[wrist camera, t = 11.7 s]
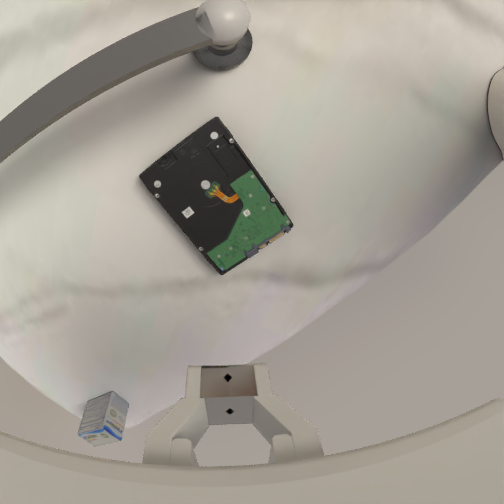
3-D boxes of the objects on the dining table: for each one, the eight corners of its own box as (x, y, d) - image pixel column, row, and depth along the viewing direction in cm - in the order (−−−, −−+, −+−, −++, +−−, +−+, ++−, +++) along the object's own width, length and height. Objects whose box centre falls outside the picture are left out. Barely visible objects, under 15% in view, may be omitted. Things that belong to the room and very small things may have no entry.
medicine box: (103, 412, 49) (95, 447, 42) (87, 399, 47) (76, 435, 40) (129, 403, 48) (122, 441, 40) (112, 389, 46) (102, 428, 38)
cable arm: (254, 37, 20) (257, 30, 18) (-24, 190, 22) (-37, 197, 20) (238, -2, 18) (240, -12, 16) (-35, 159, 20) (-49, 164, 18)
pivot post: (251, 19, 25) (260, -5, 19) (251, 69, 28) (259, 57, 21) (194, 20, 25) (186, -4, 18) (193, 71, 28) (184, 58, 21)
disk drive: (142, 172, 32) (221, 266, 38) (136, 177, 30) (221, 278, 36) (217, 114, 30) (292, 219, 36) (216, 114, 28) (297, 227, 34)
